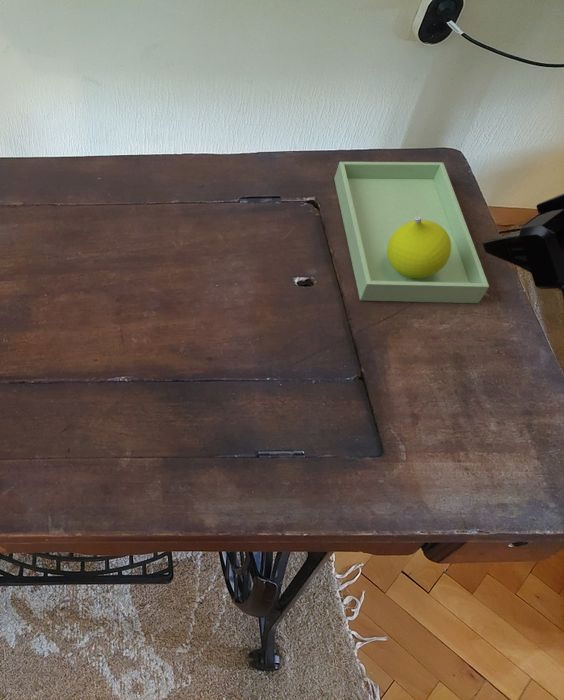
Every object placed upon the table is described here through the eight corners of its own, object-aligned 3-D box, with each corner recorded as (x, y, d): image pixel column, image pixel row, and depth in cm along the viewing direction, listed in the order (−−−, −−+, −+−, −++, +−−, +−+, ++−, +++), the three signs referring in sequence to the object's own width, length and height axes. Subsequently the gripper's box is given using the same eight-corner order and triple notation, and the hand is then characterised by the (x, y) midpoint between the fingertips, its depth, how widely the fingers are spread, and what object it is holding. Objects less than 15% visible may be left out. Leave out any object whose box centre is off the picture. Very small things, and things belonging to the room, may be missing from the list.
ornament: (368, 267, 83) (392, 207, 75) (402, 241, 86) (429, 180, 78) (415, 299, 80) (446, 240, 72) (450, 271, 82) (484, 211, 74)
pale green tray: (435, 179, 93) (443, 162, 91) (478, 303, 80) (489, 286, 77) (334, 178, 95) (339, 161, 92) (359, 300, 81) (366, 284, 79)
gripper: (728, 68, 55) (542, 121, 70) (603, 157, 49) (428, 194, 64) (757, 189, 58) (571, 216, 72) (641, 287, 52) (465, 295, 66)
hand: (512, 227), depth 68 cm, fingers open, 9 cm apart
